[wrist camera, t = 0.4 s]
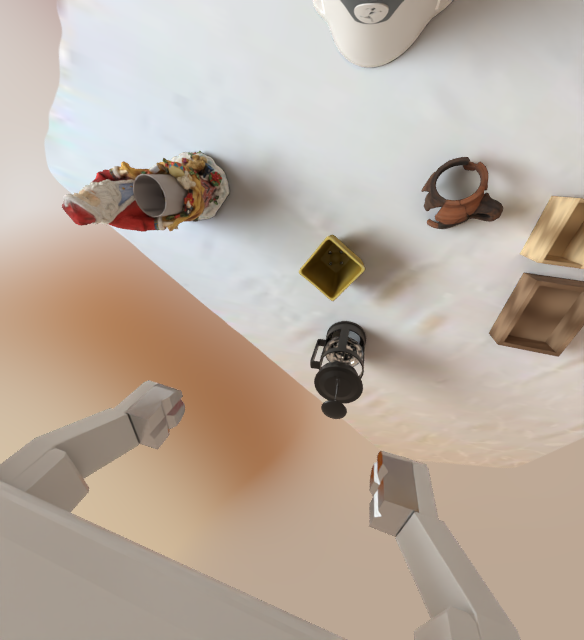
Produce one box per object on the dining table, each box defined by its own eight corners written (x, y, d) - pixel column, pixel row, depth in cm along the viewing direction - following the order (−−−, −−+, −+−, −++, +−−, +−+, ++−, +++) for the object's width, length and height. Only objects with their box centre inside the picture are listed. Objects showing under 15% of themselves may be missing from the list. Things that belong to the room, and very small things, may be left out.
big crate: (523, 272, 44) (537, 280, 40) (590, 282, 42) (610, 291, 38) (488, 333, 50) (497, 344, 47) (545, 343, 48) (558, 356, 45)
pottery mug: (408, 224, 46) (413, 202, 38) (433, 175, 45) (443, 142, 37) (478, 246, 42) (500, 227, 34) (507, 193, 41) (537, 160, 33)
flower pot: (367, 256, 50) (366, 269, 42) (337, 285, 54) (332, 302, 47) (334, 226, 49) (328, 234, 41) (307, 259, 54) (297, 272, 46)
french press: (370, 322, 56) (369, 395, 37) (367, 355, 61) (365, 436, 42) (319, 319, 60) (294, 384, 40) (320, 350, 64) (297, 423, 45)
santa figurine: (233, 157, 48) (122, 139, 27) (231, 231, 55) (143, 262, 35) (159, 142, 51) (7, 116, 30) (166, 215, 58) (48, 234, 37)
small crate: (551, 196, 38) (576, 198, 34) (598, 200, 37) (630, 202, 32) (519, 253, 43) (537, 262, 38) (560, 259, 42) (584, 268, 37)
